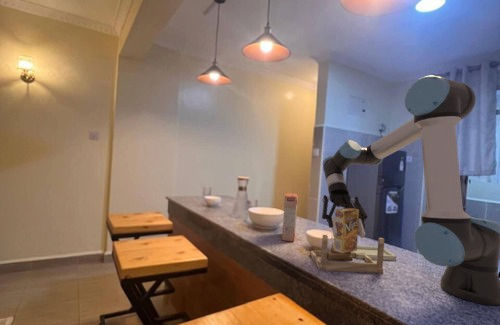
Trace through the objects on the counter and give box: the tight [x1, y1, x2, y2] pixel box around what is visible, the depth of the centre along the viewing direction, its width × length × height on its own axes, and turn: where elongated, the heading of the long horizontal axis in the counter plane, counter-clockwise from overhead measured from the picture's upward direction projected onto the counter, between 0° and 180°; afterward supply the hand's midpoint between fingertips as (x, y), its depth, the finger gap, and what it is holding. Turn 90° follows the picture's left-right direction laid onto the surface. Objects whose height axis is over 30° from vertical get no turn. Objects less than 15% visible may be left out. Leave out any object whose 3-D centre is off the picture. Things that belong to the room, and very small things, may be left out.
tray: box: [351, 245, 397, 262], centre depth 116 cm, size 12×16×2 cm
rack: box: [309, 234, 385, 275], centre depth 104 cm, size 16×22×12 cm
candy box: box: [333, 208, 359, 253], centre depth 103 cm, size 9×4×15 cm, turn 125°
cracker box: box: [281, 192, 299, 243], centre depth 134 cm, size 14×6×21 cm, turn 168°
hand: (349, 235), depth 100 cm, fingers closed on candy box, 9 cm apart
